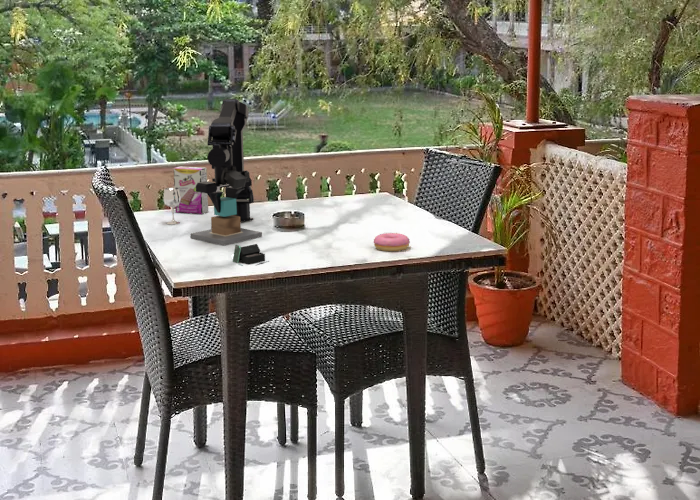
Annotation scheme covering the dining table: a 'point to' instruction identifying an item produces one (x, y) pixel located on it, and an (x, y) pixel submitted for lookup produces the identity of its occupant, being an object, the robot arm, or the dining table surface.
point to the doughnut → (391, 242)
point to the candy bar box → (190, 189)
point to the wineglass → (172, 201)
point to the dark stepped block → (248, 254)
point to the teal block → (227, 207)
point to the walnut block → (226, 224)
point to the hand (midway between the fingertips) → (225, 211)
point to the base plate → (226, 236)
